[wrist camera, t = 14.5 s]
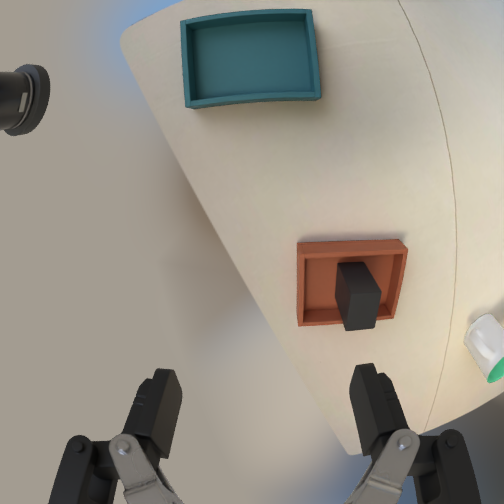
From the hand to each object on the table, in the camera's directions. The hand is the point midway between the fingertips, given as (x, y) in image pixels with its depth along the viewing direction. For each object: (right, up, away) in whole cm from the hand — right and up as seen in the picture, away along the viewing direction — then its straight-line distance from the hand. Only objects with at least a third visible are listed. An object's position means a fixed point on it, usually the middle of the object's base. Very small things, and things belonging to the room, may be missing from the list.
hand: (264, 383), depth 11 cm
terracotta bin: (+12, +2, +23) cm, 26 cm away
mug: (+41, -9, +27) cm, 50 cm away
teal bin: (-1, +26, +13) cm, 29 cm away
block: (+12, +2, +23) cm, 26 cm away
